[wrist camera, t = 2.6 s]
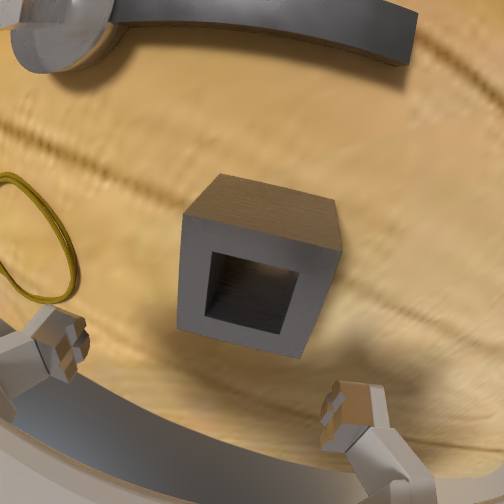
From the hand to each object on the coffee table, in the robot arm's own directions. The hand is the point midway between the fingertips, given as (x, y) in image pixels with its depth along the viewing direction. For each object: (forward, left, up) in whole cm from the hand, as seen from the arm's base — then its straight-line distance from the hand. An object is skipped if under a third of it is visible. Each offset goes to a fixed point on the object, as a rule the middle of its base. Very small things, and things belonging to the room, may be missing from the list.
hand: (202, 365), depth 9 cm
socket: (-1, 0, -9) cm, 9 cm away
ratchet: (+5, -11, -9) cm, 15 cm away
